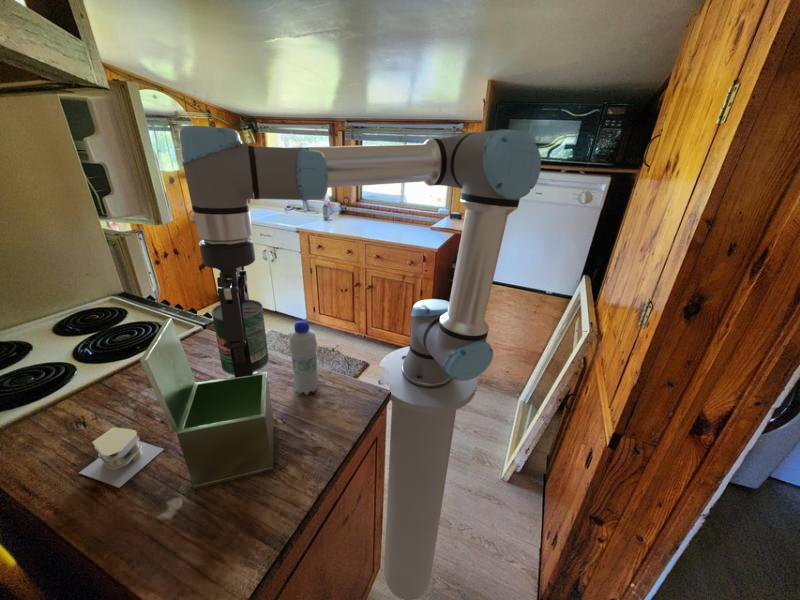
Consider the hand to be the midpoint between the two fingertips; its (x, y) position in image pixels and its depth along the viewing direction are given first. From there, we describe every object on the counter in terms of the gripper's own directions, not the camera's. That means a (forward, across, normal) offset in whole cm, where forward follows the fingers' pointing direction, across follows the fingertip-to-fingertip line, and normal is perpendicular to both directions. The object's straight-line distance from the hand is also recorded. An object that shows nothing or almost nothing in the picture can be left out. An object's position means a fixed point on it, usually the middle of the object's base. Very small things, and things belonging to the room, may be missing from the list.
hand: (245, 361), depth 59 cm
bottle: (+22, -16, +11) cm, 29 cm away
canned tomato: (0, 0, 0) cm, 0 cm away
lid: (0, 0, -11) cm, 11 cm away
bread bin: (+22, 0, -4) cm, 22 cm away
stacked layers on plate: (+22, -4, -25) cm, 34 cm away
